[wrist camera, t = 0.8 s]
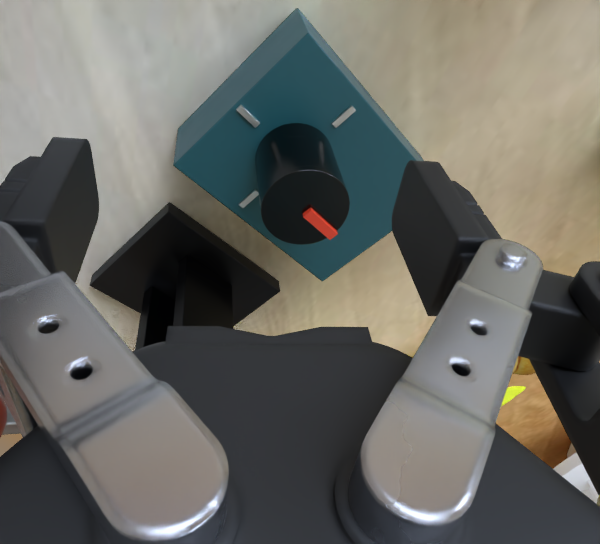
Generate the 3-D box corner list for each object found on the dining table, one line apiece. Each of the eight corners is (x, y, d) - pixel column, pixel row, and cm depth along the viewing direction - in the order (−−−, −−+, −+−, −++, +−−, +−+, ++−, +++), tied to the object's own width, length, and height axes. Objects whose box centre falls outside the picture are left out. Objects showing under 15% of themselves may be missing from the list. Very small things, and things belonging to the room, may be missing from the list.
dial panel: (177, 129, 31) (172, 167, 28) (297, 6, 27) (309, 33, 24) (312, 242, 38) (322, 283, 35) (422, 157, 35) (445, 194, 31)
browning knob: (238, 159, 28) (242, 214, 24) (297, 105, 26) (311, 155, 22) (291, 205, 30) (302, 262, 26) (348, 158, 29) (368, 212, 25)
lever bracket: (92, 274, 38) (45, 442, 27) (169, 201, 34) (149, 361, 24) (204, 337, 44) (200, 493, 34) (279, 281, 40) (300, 435, 30)
